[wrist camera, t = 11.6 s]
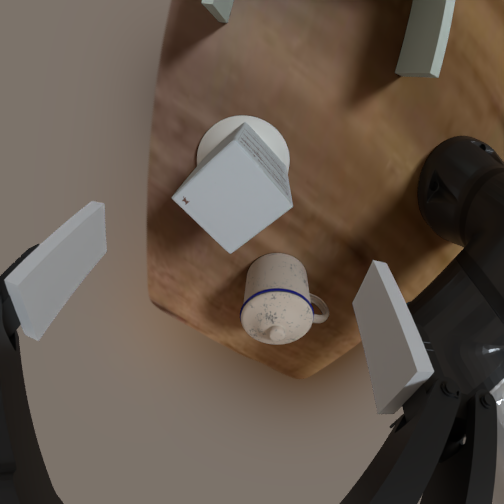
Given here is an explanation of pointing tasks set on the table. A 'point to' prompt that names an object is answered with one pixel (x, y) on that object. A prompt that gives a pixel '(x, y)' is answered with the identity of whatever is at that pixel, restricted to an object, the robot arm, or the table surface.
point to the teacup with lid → (279, 300)
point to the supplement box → (236, 189)
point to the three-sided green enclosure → (415, 41)
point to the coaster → (258, 125)
